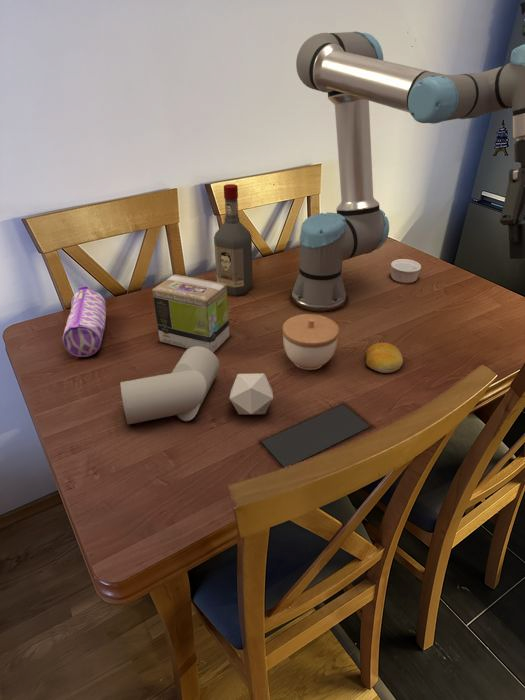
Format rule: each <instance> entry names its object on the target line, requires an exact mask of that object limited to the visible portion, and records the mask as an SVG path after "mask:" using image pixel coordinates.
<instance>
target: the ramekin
mask: <svg viewBox="0 0 525 700" xmlns="http://www.w3.org/2000/svg"><path fill="white" fill-rule="evenodd" d="M390 267H391V268H390V277H391V279H392V280H394V281H395V282H398V283H401V284H410V283H414V282H416V281H418V278H419V274H420V271H421V269H422V265H421V264H420V262H418V261H415V260H413V259H408V258H407V259H406V258H399V259H395V260H393V261H392V262H390Z"/></svg>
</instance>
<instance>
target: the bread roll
mask: <svg viewBox="0 0 525 700" xmlns="http://www.w3.org/2000/svg"><path fill="white" fill-rule="evenodd" d="M365 356H366V357H365V358H366V360H365V364H366V366H367V367H368V368H370V369H371V370H373V371H376V372H379V373H382V374H390V373H394V372H396V371H398V370H400V369H401V367H402V366H403V364H404V363H403V362H404V359H403V355H402V352H401V351H400V350H399V348H398V347H397V346H395V345H393V344H391V343H388V342H377V343H375V344H373V345H370V346H369V347H368V348H367V350H366V353H365Z"/></svg>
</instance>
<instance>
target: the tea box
mask: <svg viewBox="0 0 525 700" xmlns="http://www.w3.org/2000/svg"><path fill="white" fill-rule="evenodd" d="M151 292H152V298H153V305H154V312H155V318H156V325H157V326H156V327H157V332H158V338H159V342H161V343H165V344H168V345H172V346H176V347H179V348H184V349H186V350H187V349H189V348H191V347H195V346H199V347H204V348H206V349H208V350H210V351H211V352H213V353H214V352H216V351H217V350H218V349H219V348H220V347H221V345H222V344H224V342H225V341H226V340H227V339H228V338H229V337H230V315H229V302H228V300H229V299H228V294H227V285H226V284H224V283H219V282H217V281H213V280H207V279H203V278H197V277H192V276H187V275H180V274H177V273H173V275H171V276H170V277H168V278H167V279H166V280H164V281H162V282H161V283H160V284H158V285H156V286H154V287H153V288H152V289H151Z"/></svg>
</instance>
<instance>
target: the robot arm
mask: <svg viewBox="0 0 525 700" xmlns="http://www.w3.org/2000/svg"><path fill="white" fill-rule="evenodd" d="M509 61H510V62H509V63H507V64H504V65H502V66H499V67H495V68H492V69H488V70H485V71H480V72H469V73H460V74H459V73H458V74H445V73H440V72H435V71H429V70H426V69H422V68H419V67H418V68H417V67H413V66H409V65H404V64H400V63H396V62H392V61H387V60H384V54H383V50H382V46H381V44H380V43H379V40H378V39H376V37H374V35H372V34H370V33H367V32H360V31H356V30H355V31H343V32H320V33H317V34H313V35H312V36H310V37H308V38H307V39H306V40H305V41H304V42H303V43H302V44H301V46H300V48H299V50H298V53H297V55H296V61H295V67H296V73H297V76H298V78H299V80H300V81H301V82H302V84H303V85H304V86H306V87H307V88H309V89H311V90H314V91H319V92H322V93H325V94H326V93H327V99H328V101H330V102H331V103H332V104H333V105H334V117H335V128H336V131H335V132H336V143H337V157H338V158H337V159H338V168H339V169H338V171H339V173H338V174H339V185H340V199H341V201H340V203H339V204H338V205H337V206H336V209H335V211H336V212H325V213H324V212H320V213H316V214H313V215H311V216H308V217H307V218H306V219H304V221H303V222H302V224H301V227H300V234H299V266H298V267H299V268H298V275H297V278H296V280H295V283H294V285H293V287H292V290H291V301H292V303H293V304H294V305H295V306H297V307H298V308H301V309H302V310H306V311H311V312H317V313H319V312H320V313H321V312H331V311H335V310H337V309H340V308H341V307H343V306H344V305H345V304H346V299H347V292H346V288H345V284H344V280H343V277H342V270H343V262H344V261H346V260H350V259H354V258H356V257H360V256H363V255H368V254H371V253H372V252H374V251H376V250H379V249H380V248H381V247H382V246H384V244H385V243H386V242H387V240H388V237H389V233H390V222H389V218H388V216H386V213H385V212H384V210H383V209H381V208H380V202H379V201H378V200H376V199H375V197H374V184H373V161H372V160H373V159H372V139H371V117H370V116H371V115H370V102H372V103H376V104H379V105H382V106H385V107H388V108H391V109H394V110H395V109H396V110H399V111H402V112H406V113H409V114H410V116H412V118H413V119H414V121H416V122H417V123H420V124H433V125H435V124H439V123H443V122H446V121H452V120H467V119H477V118H479V117H481V116H484V115H488V114H491V113H495V112H498V111H502V110H506V109H507V110H508V109H512V139H516V141H515V142H514V143H513V161H514V162H515V163H520V167H519V168H513V169H510V170H509V171H508V185H507V188H506V192H505V197H504V202H503V206H502V210H501V214H500V218H499V223H500V224H502V226H508V242H509V243H508V245H509V259H510V260H511V259H512V260H524V259H525V223H523V220H524V217H525V43H524V44H522V45H519V46H517V47H515V48H514V49H512V51H511V54H510V60H509Z"/></svg>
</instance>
